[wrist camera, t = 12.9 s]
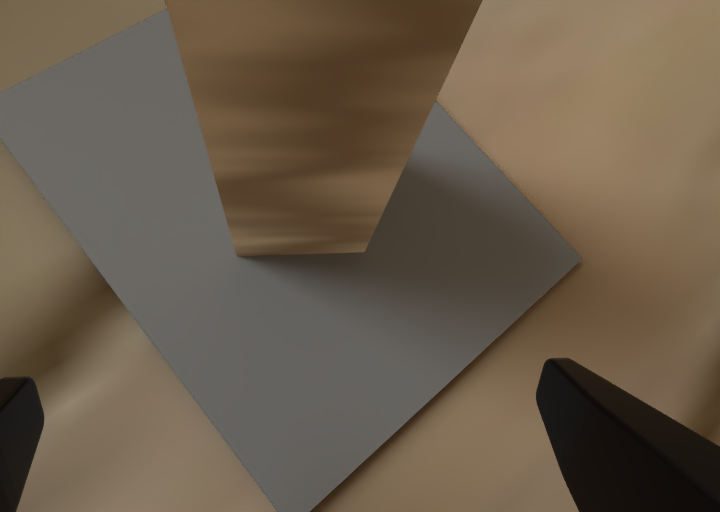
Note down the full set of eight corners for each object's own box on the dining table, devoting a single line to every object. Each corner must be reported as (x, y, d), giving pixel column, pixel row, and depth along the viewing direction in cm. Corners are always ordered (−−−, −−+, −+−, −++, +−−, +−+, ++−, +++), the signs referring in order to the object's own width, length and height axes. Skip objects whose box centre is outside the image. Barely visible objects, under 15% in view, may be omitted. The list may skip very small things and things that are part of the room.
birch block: (236, 256, 18) (158, -23, 7) (235, 141, 19) (169, -252, 8) (364, 252, 19) (485, -8, 8) (355, 141, 20) (446, -222, 9)
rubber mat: (290, 526, 16) (291, 529, 16) (-18, 112, 19) (-25, 105, 18) (577, 261, 20) (582, 258, 20) (290, -47, 23) (290, -55, 23)
